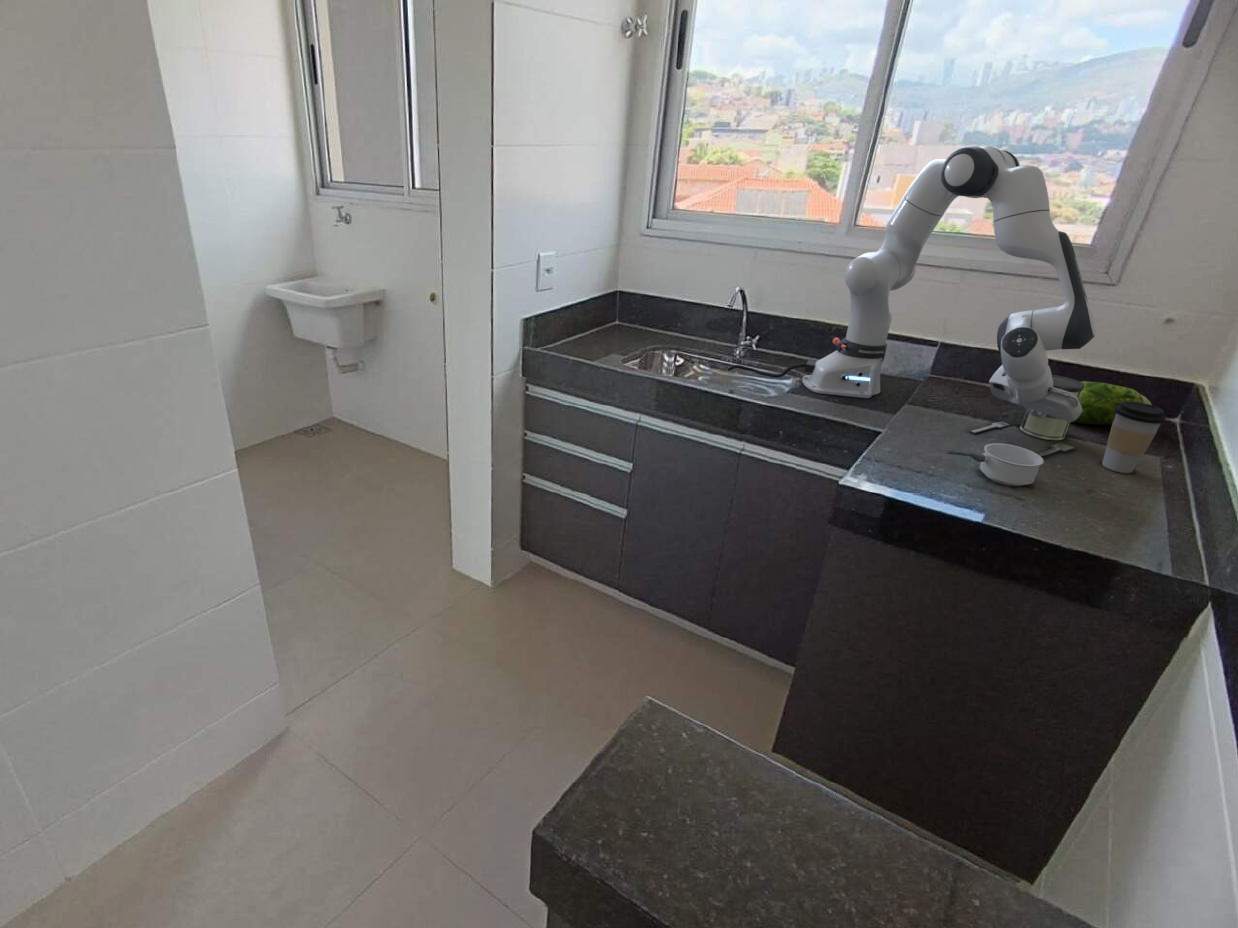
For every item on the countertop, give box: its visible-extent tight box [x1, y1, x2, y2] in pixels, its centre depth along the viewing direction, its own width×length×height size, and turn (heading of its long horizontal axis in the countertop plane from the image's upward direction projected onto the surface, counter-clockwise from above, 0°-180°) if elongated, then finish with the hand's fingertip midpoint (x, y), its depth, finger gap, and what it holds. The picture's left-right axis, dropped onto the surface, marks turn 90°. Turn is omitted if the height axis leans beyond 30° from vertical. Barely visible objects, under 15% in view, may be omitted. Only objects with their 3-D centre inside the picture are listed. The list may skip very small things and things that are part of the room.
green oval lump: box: [1072, 380, 1152, 426], centre depth 176 cm, size 12×21×11 cm, turn 84°
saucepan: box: [945, 442, 1044, 487], centre depth 143 cm, size 12×20×6 cm, turn 89°
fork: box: [969, 421, 1010, 435], centre depth 170 cm, size 15×2×1 cm, turn 122°
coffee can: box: [1019, 374, 1085, 441], centre depth 167 cm, size 10×10×14 cm
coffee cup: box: [1102, 401, 1167, 474], centre depth 149 cm, size 9×9×15 cm
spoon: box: [1037, 442, 1075, 458], centre depth 158 cm, size 14×3×1 cm, turn 122°
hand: (1039, 415), depth 164 cm, fingers closed, pressing on coffee can
